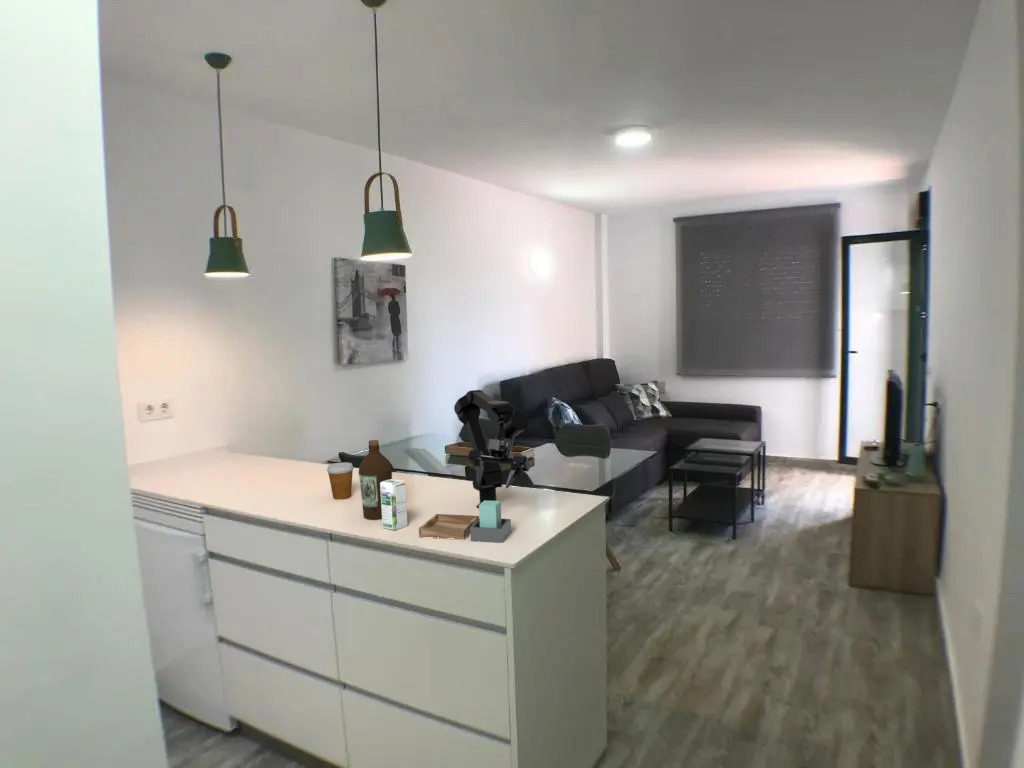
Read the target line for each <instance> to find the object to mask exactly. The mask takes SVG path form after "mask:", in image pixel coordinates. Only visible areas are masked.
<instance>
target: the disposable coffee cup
mask: <svg viewBox="0 0 1024 768" xmlns="http://www.w3.org/2000/svg"><path fill="white" fill-rule="evenodd" d="M354 468H355V467H354V466H353V463H351V462H335V463H332V464H329V465H327V469H326V472H327V473H328V477H329V483H330V488H331V492H332V493H331V494H332V498H333V499H334V500H337V499H341V500H347V499H350V498H351V497H352V488H353V487H352V486H353V471H354ZM349 497H350V498H349ZM346 498H347V499H346Z"/></svg>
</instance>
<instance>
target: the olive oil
mask: <svg viewBox="0 0 1024 768" xmlns="http://www.w3.org/2000/svg"><path fill="white" fill-rule="evenodd" d="M358 478H359V484H360V485H359V486H360V493H361V494H360V495H361V503H362V514H363V515H362V516H363V518H364V519H365V518H366V520H370V521H371V520H372V521H374V520H376V521H377V520H382V507H381V490H380V483H381V482H383V481H385V480H390V479H393V468H392V464H391V462H390V460H389V459H388V458H387V457H386V456H384V454H382V453H381V451H380V444H379V440H378V439H371V440H369V441H368V453H367V455H366V456H365V457H364V458H363V459H362V461H361V462H360V464H359V466H358Z"/></svg>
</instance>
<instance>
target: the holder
mask: <svg viewBox="0 0 1024 768" xmlns="http://www.w3.org/2000/svg"><path fill="white" fill-rule="evenodd" d="M501 522H502V527H501V528H486V527H480V518H479V519H478V520H477V521H476V522H475V523H474V524H473V525H472V526H471V527H470V534H469V536H470V542H478V541H480V542H482V543H497V544H502V543H503V542H504V541H505V540H506V539H507V537H509V536H510V534H511V533H512V519H511V518H501ZM480 542H479V543H480Z"/></svg>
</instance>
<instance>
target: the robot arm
mask: <svg viewBox="0 0 1024 768" xmlns="http://www.w3.org/2000/svg"><path fill="white" fill-rule="evenodd" d="M453 406H454V408H453V409H454V413H455V415H456V416H457V419H458V420H459V421H460V423H462V424H463V425H464V426H465V428H466V431H467V434H468V437H469V440H470V441H469V442H470V444H471V447H472V449H471V450H469V451H468V454H467V456H466V457H467V459H468V461H469V462H470V464H471V465H472V466H474V468H475V477H474V478H473V480H472V487H473V489H474V490H475V491H478V493H479V494H478V495H479V496H478V497H479V503H478V504H477V505H476V506H475V507H476V508H478V509H479V505H480V504H481V503H482V502H483V501H484V500H486V501H498V499H497V488H502V487H503V480H504V472H503V469H502V468H501V464H502V465H503V464H504V465H510V471H509V474H508V476H507V480H506V483H505V488H506V489H509V487H510V486H511V485H512V484H513V483H514V481H515V480H516V479H517V478H518V477H519V476H521V474H524V473H525V472H529V471H530V466H531V462H530V461H529V459H528V457H527V455H524V454H514V455H513V458H512V457H510V455H511V453H512V451H513V443H514V440H515V437H517V436H518V435H519V434H521V433H522V432H524V431H525V430H526V429H527V428H528V426H529V419H528V418H527V416H526V415H525V414H524V413H522V412H520V409H515V407H514V406H513V405H512V404H511V403H510V402H508V401H504V400H497V399H495V398H493V397H492V396H490V395H488V394H486V392H484V391H483V390H481V389H474V390H469V391H467V392H466V393H465V394H464V395H463V396H461V397H459V398H458V399H457V401H456V402H455V404H454V405H453ZM481 410H483V411H485V412H486V413H487V418H488V419H489V420H490V421H491V422H493V423H497V422H500V423H498V427H497V429H496V434H495V437H493V439H491V438H487V439H486V438H485V435H484V432H483V430H482V425H481V423H480V415H481Z"/></svg>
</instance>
